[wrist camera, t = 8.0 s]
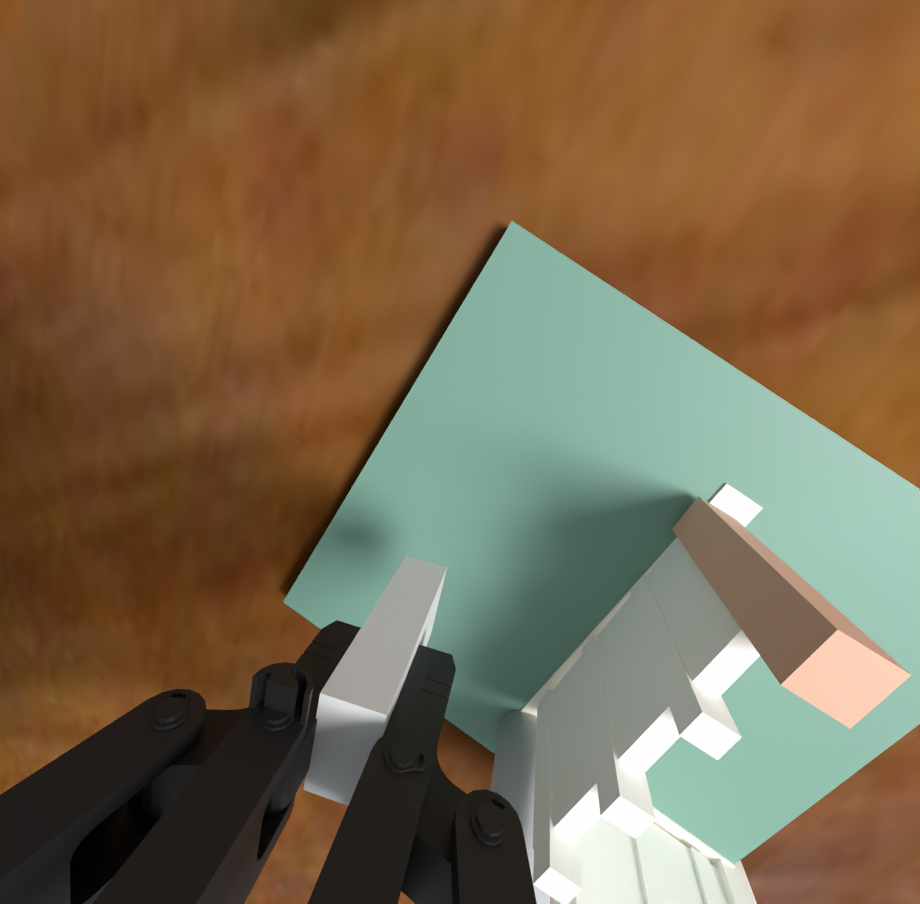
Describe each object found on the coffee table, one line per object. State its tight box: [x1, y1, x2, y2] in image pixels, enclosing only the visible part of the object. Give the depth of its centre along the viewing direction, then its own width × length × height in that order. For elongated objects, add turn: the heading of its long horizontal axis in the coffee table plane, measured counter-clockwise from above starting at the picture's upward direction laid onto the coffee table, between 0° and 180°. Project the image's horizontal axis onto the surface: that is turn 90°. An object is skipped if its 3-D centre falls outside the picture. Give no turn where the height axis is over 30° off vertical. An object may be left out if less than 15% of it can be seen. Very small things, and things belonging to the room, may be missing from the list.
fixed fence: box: [490, 710, 757, 904], centre depth 17 cm, size 13×2×8 cm, turn 57°
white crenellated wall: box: [532, 496, 911, 904], centre depth 14 cm, size 12×2×8 cm, turn 149°
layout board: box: [283, 221, 920, 868], centre depth 19 cm, size 24×20×1 cm
